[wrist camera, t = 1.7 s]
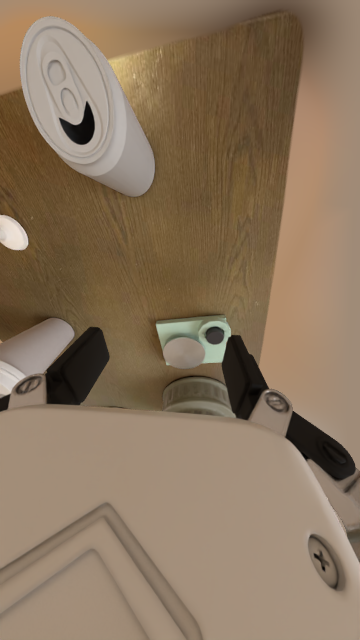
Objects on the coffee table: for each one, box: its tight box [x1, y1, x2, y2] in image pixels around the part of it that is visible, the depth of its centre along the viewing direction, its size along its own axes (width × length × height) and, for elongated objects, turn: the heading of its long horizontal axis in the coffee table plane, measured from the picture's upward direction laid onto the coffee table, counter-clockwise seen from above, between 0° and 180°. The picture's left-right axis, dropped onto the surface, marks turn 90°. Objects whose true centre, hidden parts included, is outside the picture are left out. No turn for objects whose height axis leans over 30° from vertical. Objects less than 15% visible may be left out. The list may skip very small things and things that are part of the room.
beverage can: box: [20, 16, 155, 197], centre depth 14 cm, size 6×6×12 cm
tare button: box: [206, 327, 224, 345], centre depth 29 cm, size 3×3×2 cm
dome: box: [162, 377, 236, 418], centre depth 35 cm, size 20×25×20 cm
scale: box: [156, 315, 231, 365], centre depth 33 cm, size 15×13×3 cm
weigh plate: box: [163, 337, 205, 369], centre depth 32 cm, size 9×9×1 cm
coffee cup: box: [0, 318, 74, 398], centre depth 28 cm, size 10×10×15 cm
